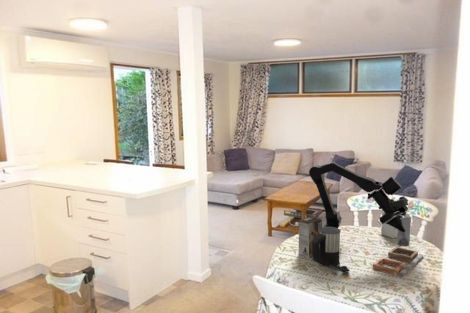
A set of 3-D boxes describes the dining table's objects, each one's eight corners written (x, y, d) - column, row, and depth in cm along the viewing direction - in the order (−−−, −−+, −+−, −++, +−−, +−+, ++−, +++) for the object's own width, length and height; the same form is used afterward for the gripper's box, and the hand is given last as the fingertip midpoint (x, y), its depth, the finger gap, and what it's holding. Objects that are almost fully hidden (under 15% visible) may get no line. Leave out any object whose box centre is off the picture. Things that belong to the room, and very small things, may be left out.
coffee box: (310, 249, 173) (311, 216, 171) (321, 253, 168) (322, 219, 166) (297, 254, 167) (298, 219, 166) (309, 258, 163) (309, 223, 161)
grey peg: (400, 246, 160) (402, 218, 158) (394, 242, 165) (395, 215, 164) (411, 245, 161) (413, 218, 159) (405, 241, 166) (406, 214, 164)
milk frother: (324, 256, 164) (324, 224, 162) (358, 266, 154) (359, 232, 152) (308, 267, 153) (309, 233, 151) (344, 278, 143) (345, 241, 141)
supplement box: (380, 234, 193) (381, 211, 192) (390, 232, 196) (391, 209, 195) (391, 238, 187) (392, 214, 185) (402, 236, 190) (403, 212, 188)
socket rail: (402, 277, 143) (402, 272, 143) (372, 268, 151) (372, 264, 151) (423, 257, 162) (423, 252, 162) (395, 250, 170) (395, 246, 170)
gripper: (387, 194, 156) (413, 225, 150) (405, 188, 169) (429, 216, 163) (369, 209, 163) (392, 239, 156) (387, 201, 176) (409, 229, 169)
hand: (407, 230), depth 161 cm, fingers closed on grey peg, 5 cm apart
